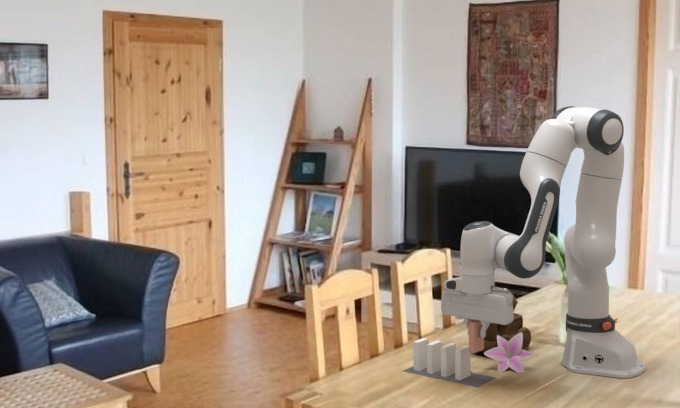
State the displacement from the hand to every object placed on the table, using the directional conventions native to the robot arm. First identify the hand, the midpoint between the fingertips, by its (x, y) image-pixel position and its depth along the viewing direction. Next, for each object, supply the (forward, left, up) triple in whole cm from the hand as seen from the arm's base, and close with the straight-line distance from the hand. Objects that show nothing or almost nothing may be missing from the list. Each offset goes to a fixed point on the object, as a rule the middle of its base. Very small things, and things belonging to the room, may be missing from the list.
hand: (476, 336), depth 242 cm
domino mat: (+9, 0, -13) cm, 15 cm away
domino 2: (+13, 0, -12) cm, 18 cm away
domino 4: (+4, 0, -12) cm, 13 cm away
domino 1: (+18, 0, -12) cm, 22 cm away
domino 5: (0, 0, -4) cm, 4 cm away
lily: (-1, -15, -13) cm, 19 cm away
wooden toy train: (+10, -29, -13) cm, 33 cm away
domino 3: (+9, 0, -12) cm, 15 cm away
